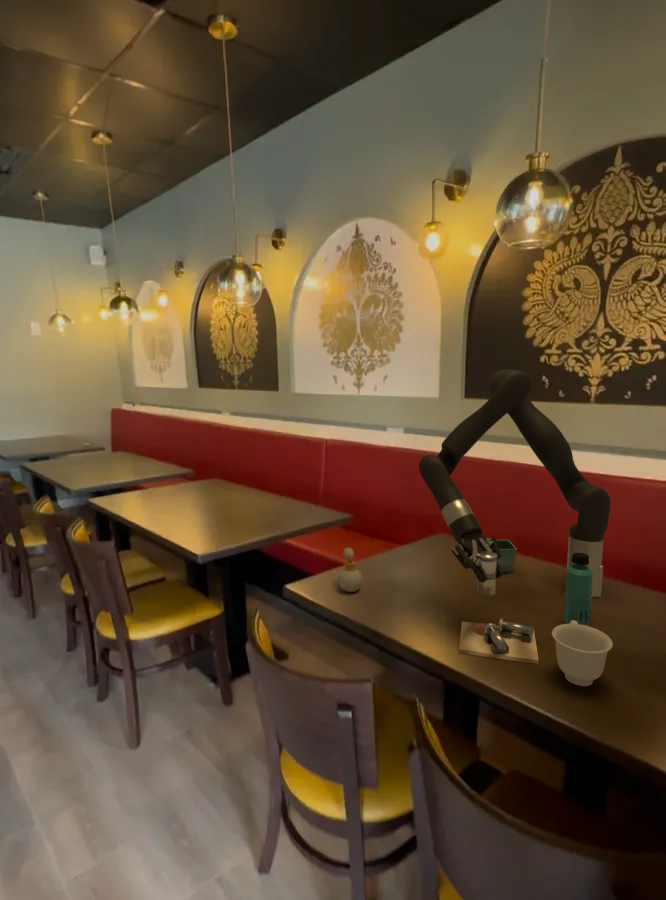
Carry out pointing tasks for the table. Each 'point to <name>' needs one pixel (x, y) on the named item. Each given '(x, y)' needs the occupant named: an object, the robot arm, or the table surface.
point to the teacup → (581, 652)
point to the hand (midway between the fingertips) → (492, 578)
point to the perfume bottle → (350, 573)
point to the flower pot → (506, 554)
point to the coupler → (487, 572)
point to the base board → (476, 645)
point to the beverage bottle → (578, 590)
